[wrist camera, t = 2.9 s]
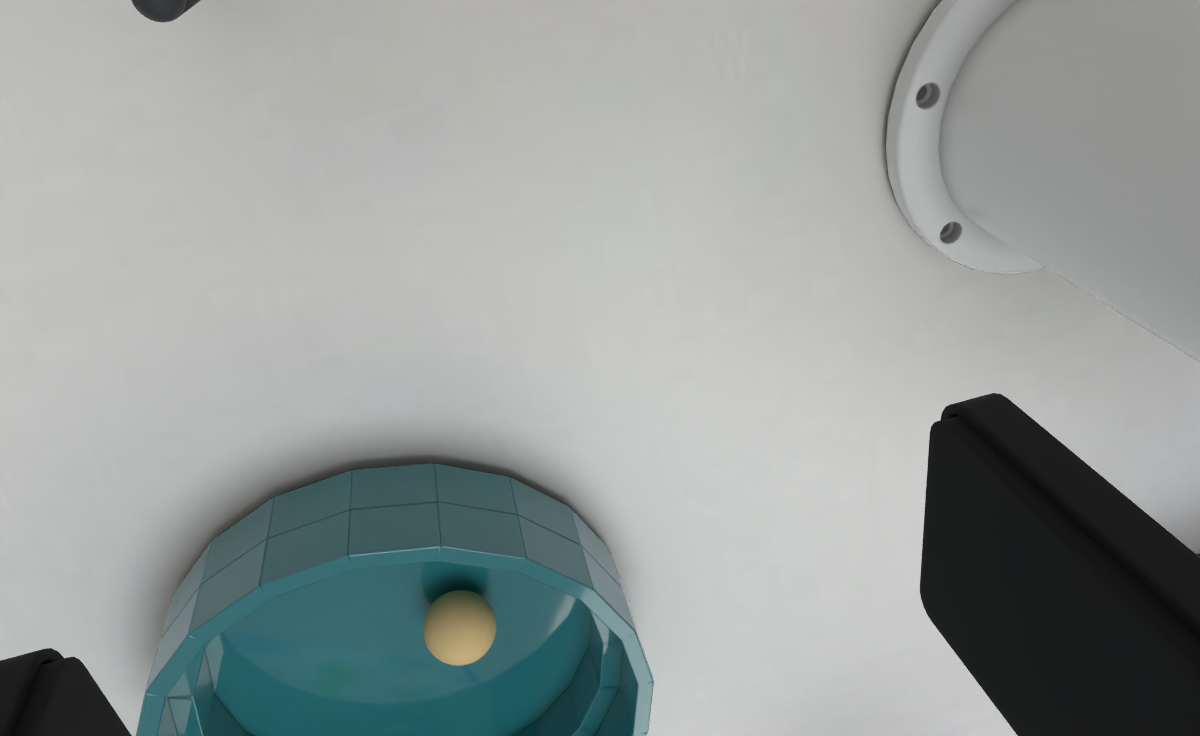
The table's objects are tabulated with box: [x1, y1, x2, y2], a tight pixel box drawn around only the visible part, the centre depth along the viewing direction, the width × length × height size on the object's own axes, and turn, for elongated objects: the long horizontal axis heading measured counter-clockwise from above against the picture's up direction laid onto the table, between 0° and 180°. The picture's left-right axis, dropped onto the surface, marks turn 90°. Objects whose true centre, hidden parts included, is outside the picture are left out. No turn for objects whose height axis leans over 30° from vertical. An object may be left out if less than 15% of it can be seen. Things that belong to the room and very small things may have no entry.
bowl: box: [136, 463, 654, 736], centre depth 37 cm, size 19×19×6 cm
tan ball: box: [423, 590, 496, 666], centre depth 37 cm, size 3×3×3 cm
